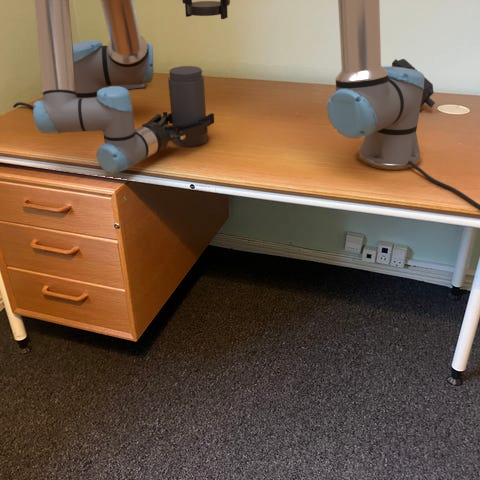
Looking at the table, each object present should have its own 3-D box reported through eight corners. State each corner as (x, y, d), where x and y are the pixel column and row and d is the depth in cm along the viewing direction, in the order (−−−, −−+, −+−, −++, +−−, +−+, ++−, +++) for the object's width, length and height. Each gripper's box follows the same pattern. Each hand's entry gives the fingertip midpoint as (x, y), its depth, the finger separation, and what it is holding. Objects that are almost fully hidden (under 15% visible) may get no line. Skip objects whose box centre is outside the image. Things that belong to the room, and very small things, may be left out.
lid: (185, 16, 147) (184, 7, 146) (190, 9, 156) (190, 1, 154) (223, 15, 146) (222, 6, 145) (226, 9, 155) (226, 0, 154)
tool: (374, 89, 181) (400, 53, 170) (416, 126, 177) (445, 91, 166) (365, 93, 177) (391, 56, 166) (408, 131, 173) (438, 96, 162)
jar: (213, 137, 154) (210, 67, 144) (194, 148, 147) (189, 76, 137) (186, 132, 159) (181, 63, 148) (166, 142, 152) (160, 72, 141)
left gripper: (117, 146, 144) (168, 121, 160) (184, 162, 134) (231, 134, 150) (113, 119, 140) (166, 96, 156) (181, 133, 130) (230, 108, 146)
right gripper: (157, -73, 141) (165, 16, 153) (236, -73, 133) (237, 21, 144) (172, -74, 147) (178, 12, 159) (248, -74, 138) (248, 17, 150)
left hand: (197, 115), depth 153 cm, fingers closed on jar, 10 cm apart
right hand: (206, 17), depth 152 cm, fingers closed on lid, 10 cm apart
